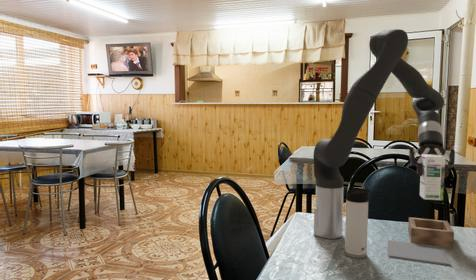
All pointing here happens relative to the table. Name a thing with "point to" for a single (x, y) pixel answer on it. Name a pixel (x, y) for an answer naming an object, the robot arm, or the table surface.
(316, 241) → the table surface
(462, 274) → the table surface
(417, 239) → the walnut holder
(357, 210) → the travel mug
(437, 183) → the syrup box
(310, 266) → the table surface
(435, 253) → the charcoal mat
